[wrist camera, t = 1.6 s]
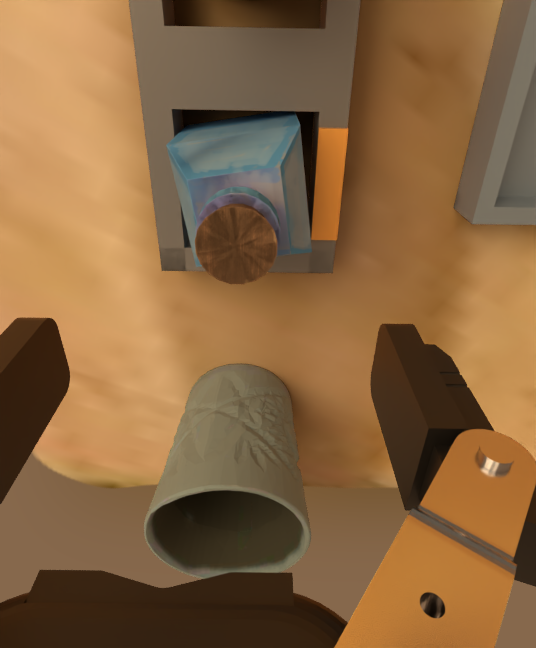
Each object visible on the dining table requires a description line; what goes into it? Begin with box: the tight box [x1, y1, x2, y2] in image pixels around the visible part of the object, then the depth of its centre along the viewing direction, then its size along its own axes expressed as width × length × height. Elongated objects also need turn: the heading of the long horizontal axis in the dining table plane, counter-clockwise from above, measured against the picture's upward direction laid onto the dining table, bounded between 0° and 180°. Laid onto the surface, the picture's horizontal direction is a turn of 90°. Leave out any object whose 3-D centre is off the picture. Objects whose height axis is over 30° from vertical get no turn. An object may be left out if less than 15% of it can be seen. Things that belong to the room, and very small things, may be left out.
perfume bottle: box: [166, 111, 312, 284], centre depth 22 cm, size 6×6×12 cm
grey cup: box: [144, 364, 311, 579], centre depth 32 cm, size 10×10×12 cm
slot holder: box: [129, 0, 361, 273], centre depth 23 cm, size 22×10×3 cm, turn 179°
